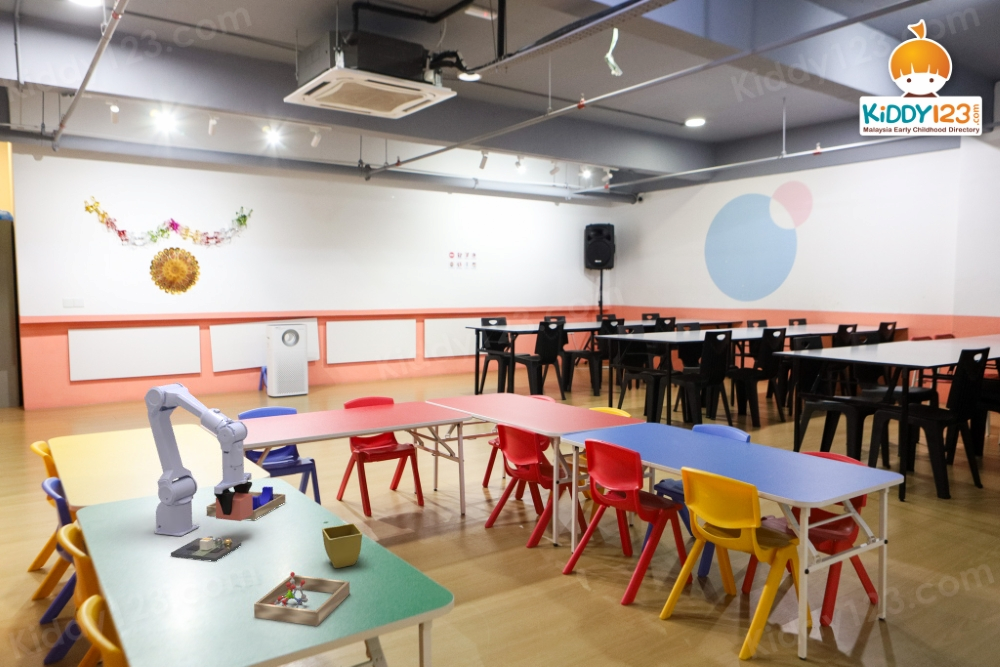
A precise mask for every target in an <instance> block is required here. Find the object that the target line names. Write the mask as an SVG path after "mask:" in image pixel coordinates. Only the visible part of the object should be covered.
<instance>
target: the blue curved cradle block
mask: <svg viewBox="0 0 1000 667" xmlns="http://www.w3.org/2000/svg"><path fill="white" fill-rule="evenodd" d="M261 492H262V495H260V496H258V497H253V510H256V509H258V508H259V507H261V506H263V505H265V504H267V503H268V502H270V501H272V500H273V493H274V486H263V487H261Z"/></svg>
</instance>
